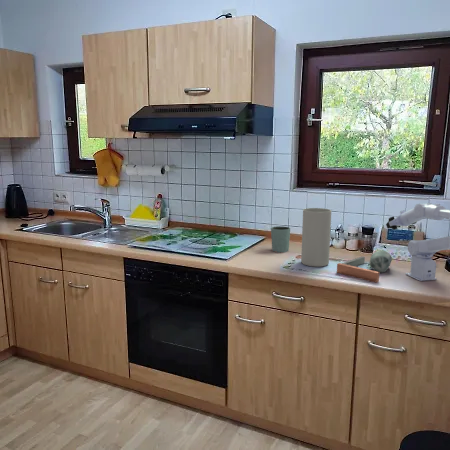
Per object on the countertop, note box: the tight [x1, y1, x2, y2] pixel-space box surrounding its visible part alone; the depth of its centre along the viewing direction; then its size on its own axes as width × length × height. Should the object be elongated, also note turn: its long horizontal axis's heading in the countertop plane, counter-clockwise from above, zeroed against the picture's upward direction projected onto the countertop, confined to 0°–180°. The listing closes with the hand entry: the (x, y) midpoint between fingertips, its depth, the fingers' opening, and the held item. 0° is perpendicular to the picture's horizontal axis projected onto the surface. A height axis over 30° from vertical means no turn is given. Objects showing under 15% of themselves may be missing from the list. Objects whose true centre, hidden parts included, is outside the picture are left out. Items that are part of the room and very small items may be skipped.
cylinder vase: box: [300, 207, 332, 268], centre depth 191 cm, size 12×12×25 cm
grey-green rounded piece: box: [369, 249, 393, 273], centre depth 184 cm, size 14×10×10 cm
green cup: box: [270, 225, 291, 253], centre depth 217 cm, size 10×10×12 cm
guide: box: [336, 256, 380, 284], centre depth 180 cm, size 23×19×4 cm
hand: (394, 224), depth 192 cm, fingers open, 7 cm apart
